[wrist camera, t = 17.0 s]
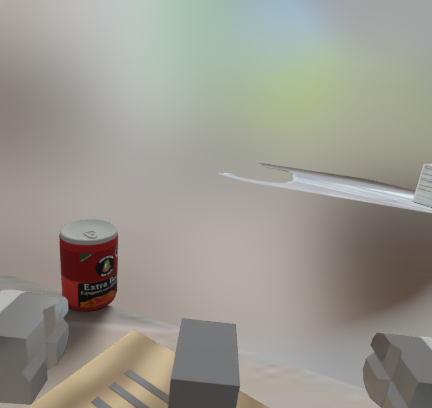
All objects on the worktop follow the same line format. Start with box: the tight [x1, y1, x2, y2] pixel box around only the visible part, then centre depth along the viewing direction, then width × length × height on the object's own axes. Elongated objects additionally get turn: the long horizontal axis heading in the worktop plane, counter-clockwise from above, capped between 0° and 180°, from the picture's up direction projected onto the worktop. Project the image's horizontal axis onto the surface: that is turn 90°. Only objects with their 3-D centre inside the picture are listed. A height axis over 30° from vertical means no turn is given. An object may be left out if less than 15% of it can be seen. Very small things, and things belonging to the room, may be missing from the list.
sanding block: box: [168, 319, 240, 408], centre depth 24 cm, size 6×4×10 cm
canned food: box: [59, 220, 118, 311], centre depth 45 cm, size 8×8×11 cm
